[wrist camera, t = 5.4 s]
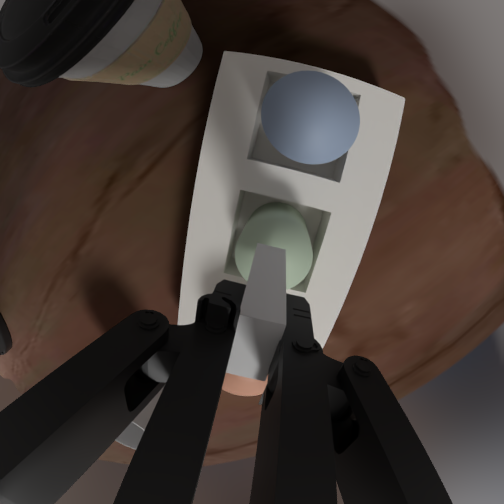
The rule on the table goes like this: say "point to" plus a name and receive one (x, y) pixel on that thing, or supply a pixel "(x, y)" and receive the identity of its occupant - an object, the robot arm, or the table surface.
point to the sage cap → (276, 240)
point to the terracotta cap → (243, 385)
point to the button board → (284, 187)
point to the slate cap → (310, 117)
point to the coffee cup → (98, 41)
